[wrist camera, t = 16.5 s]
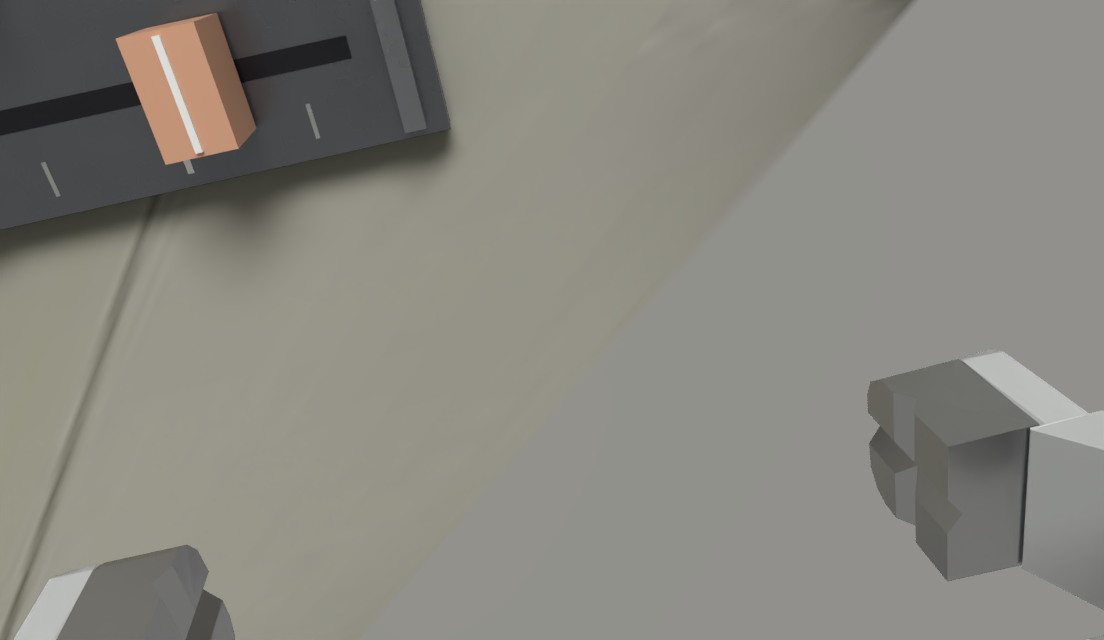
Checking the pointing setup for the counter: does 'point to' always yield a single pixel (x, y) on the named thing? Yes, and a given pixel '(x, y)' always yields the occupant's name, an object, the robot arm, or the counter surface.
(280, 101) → the console
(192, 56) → the light orange-brown fader
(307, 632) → the counter surface
